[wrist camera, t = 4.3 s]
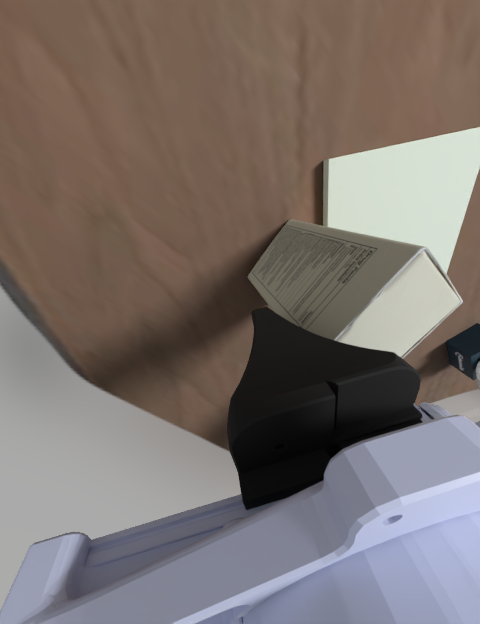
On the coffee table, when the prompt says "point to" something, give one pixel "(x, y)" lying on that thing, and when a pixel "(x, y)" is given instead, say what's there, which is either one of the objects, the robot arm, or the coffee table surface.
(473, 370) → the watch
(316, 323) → the skincare box
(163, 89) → the coffee table surface
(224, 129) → the coffee table surface
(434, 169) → the mat
